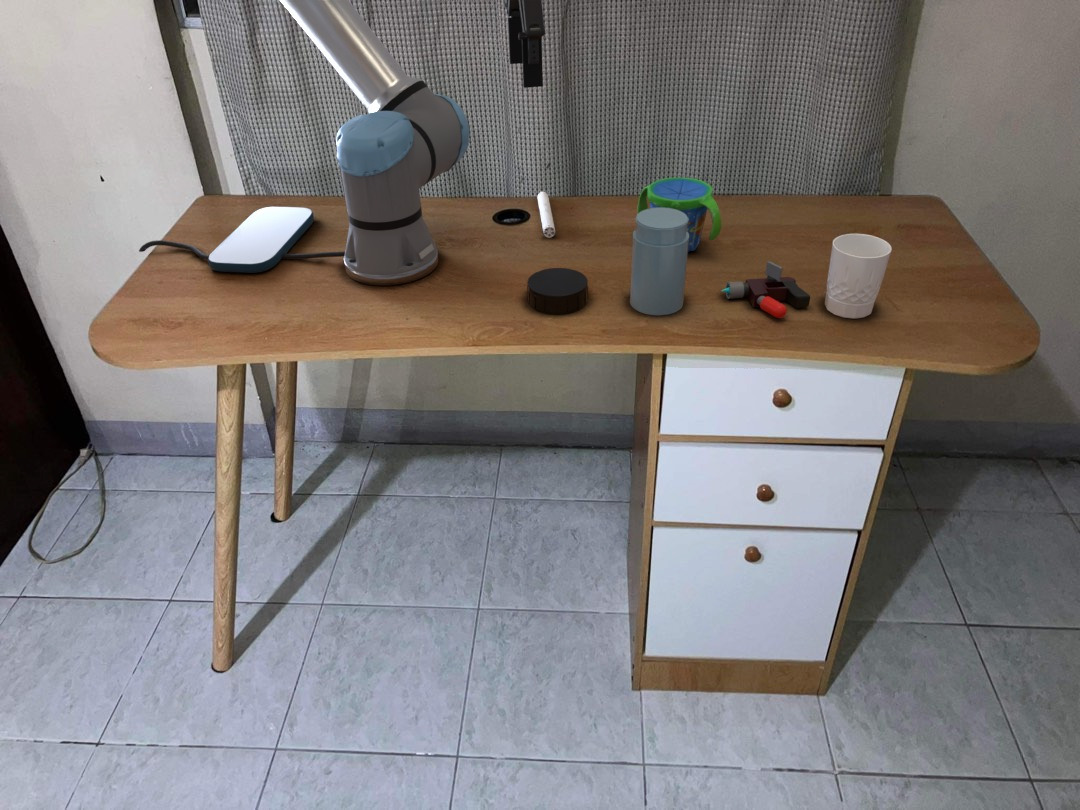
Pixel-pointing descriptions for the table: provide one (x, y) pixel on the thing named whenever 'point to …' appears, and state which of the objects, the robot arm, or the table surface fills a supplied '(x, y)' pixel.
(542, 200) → the marker
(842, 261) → the white cup
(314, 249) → the table surface
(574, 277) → the lid
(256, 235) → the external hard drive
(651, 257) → the jar
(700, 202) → the snack cup
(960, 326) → the table surface
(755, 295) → the toy gun
